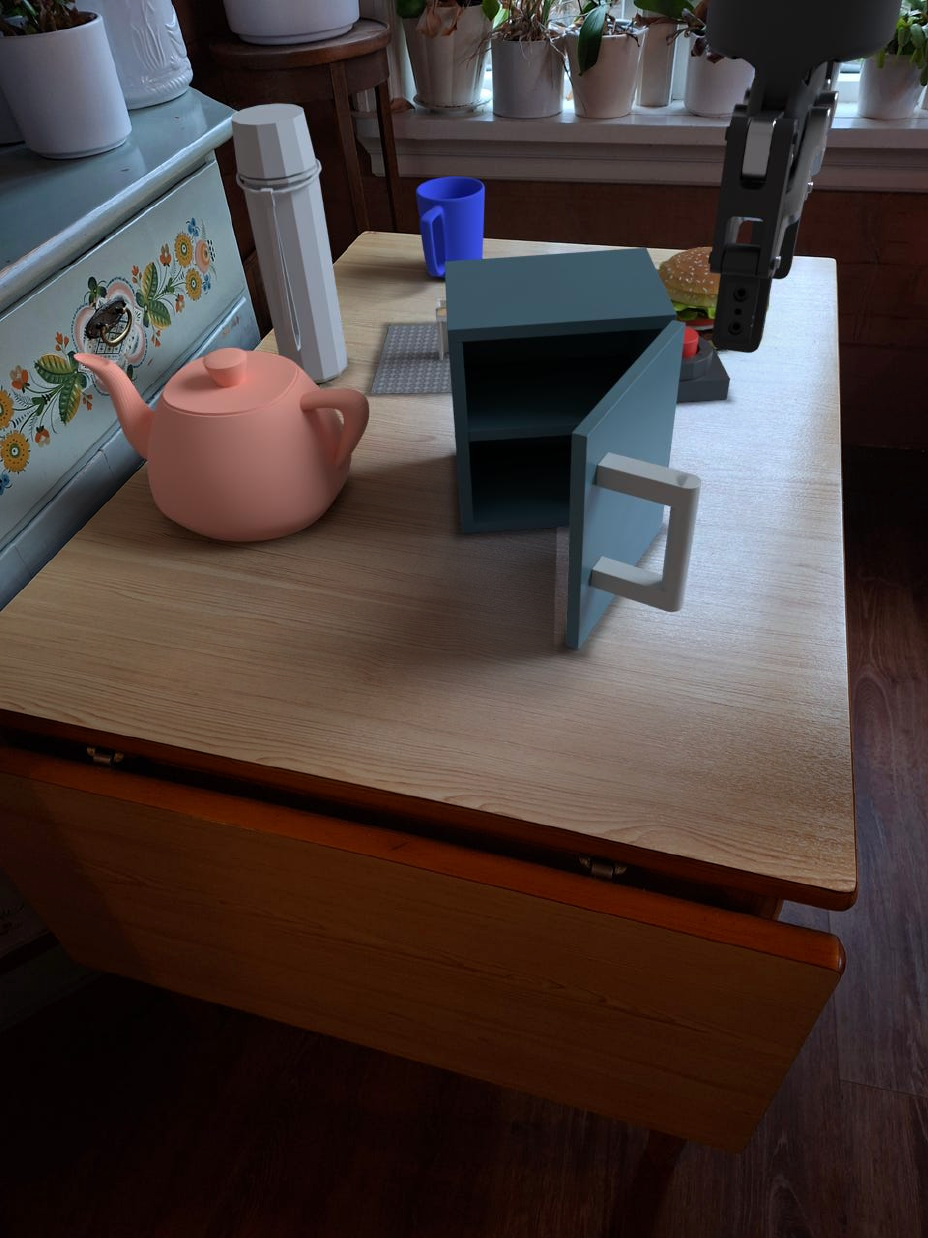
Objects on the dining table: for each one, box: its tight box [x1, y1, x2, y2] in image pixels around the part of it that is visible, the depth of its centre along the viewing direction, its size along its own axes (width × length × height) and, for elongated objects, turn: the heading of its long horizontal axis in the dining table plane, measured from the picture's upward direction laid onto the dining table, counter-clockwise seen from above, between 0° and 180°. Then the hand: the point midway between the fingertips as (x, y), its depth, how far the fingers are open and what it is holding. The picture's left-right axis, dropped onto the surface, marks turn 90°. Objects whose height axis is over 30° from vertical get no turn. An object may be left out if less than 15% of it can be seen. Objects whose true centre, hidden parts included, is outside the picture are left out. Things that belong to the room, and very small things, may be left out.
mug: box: [415, 176, 486, 279], centre depth 110 cm, size 8×12×10 cm
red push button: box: [682, 327, 698, 358], centre depth 88 cm, size 4×4×2 cm
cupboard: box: [444, 247, 677, 534], centre depth 74 cm, size 12×16×18 cm
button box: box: [676, 336, 731, 404], centre depth 90 cm, size 9×7×4 cm
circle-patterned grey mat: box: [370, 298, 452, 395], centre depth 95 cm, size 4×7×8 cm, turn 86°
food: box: [656, 246, 771, 350], centre depth 97 cm, size 14×14×8 cm
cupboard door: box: [565, 320, 702, 651], centre depth 62 cm, size 7×16×18 cm, turn 149°
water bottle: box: [230, 103, 348, 384], centre depth 88 cm, size 9×8×25 cm
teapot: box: [73, 347, 370, 543], centre depth 77 cm, size 25×17×13 cm
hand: (752, 309), depth 46 cm, fingers open, 8 cm apart
